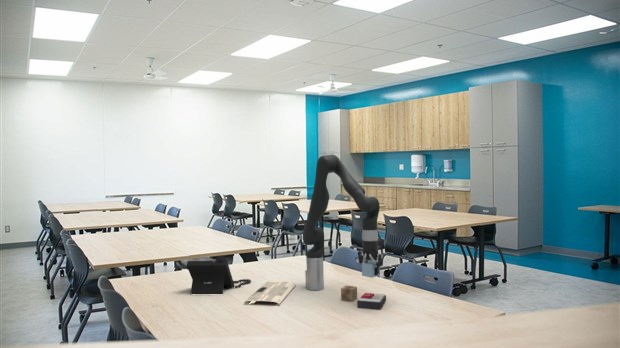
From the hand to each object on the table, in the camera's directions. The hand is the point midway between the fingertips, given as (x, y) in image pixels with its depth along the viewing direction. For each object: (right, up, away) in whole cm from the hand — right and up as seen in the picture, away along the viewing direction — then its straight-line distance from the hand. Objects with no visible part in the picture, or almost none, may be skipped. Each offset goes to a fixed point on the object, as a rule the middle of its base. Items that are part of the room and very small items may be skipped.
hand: (370, 273), depth 215 cm
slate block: (0, -1, 0) cm, 1 cm away
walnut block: (-10, -15, +9) cm, 20 cm away
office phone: (-79, -16, +37) cm, 88 cm away
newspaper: (-48, -16, +21) cm, 55 cm away
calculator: (+1, -15, 0) cm, 15 cm away
